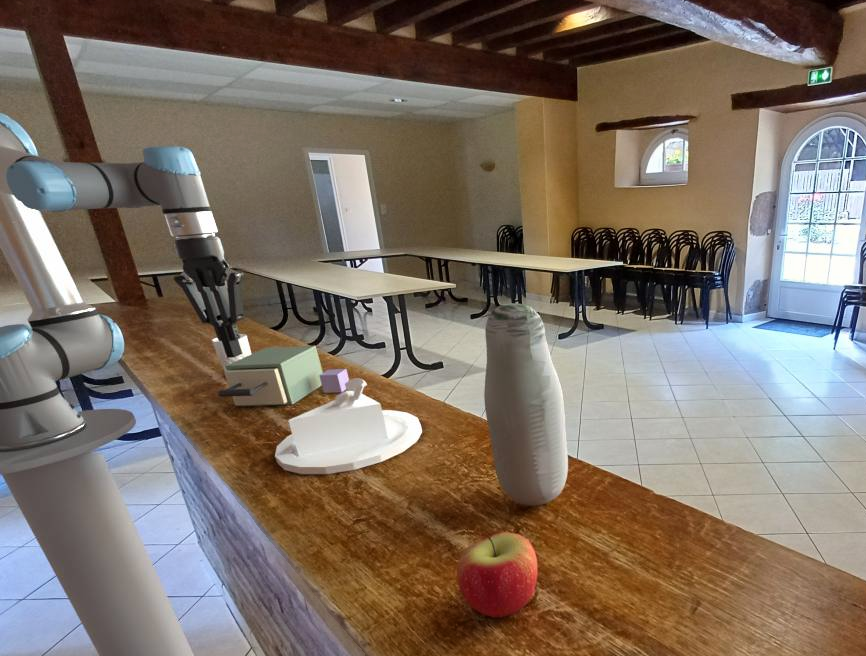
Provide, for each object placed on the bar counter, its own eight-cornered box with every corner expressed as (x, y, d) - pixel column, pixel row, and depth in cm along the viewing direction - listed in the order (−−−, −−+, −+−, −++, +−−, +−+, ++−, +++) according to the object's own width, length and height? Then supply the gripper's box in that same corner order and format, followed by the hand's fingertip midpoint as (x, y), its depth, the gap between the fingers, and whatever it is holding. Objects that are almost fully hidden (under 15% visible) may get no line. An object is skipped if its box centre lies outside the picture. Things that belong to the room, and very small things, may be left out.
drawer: (267, 414, 116) (256, 379, 113) (215, 416, 116) (203, 381, 113) (316, 383, 134) (308, 352, 131) (271, 385, 134) (262, 354, 131)
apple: (457, 637, 55) (441, 556, 52) (471, 582, 63) (457, 507, 59) (539, 630, 56) (529, 549, 52) (543, 576, 64) (534, 501, 60)
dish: (386, 407, 118) (375, 356, 114) (445, 437, 101) (435, 379, 97) (260, 446, 103) (241, 389, 98) (305, 490, 86) (285, 423, 82)
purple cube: (323, 393, 129) (319, 375, 128) (333, 386, 134) (328, 369, 132) (341, 392, 129) (337, 374, 127) (350, 386, 133) (346, 368, 132)
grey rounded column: (584, 495, 80) (569, 301, 69) (528, 526, 73) (501, 317, 62) (541, 474, 86) (521, 294, 75) (486, 501, 80) (456, 308, 69)
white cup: (221, 374, 149) (209, 338, 145) (253, 367, 154) (243, 332, 150) (227, 380, 143) (214, 343, 139) (260, 373, 148) (249, 336, 144)
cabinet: (292, 404, 123) (280, 363, 119) (238, 406, 124) (225, 365, 120) (325, 383, 137) (315, 345, 133) (277, 384, 137) (265, 347, 134)
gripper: (148, 240, 102) (192, 362, 111) (214, 236, 101) (253, 359, 110) (178, 237, 109) (217, 352, 118) (241, 233, 108) (275, 349, 117)
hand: (234, 355), depth 114 cm, fingers closed
